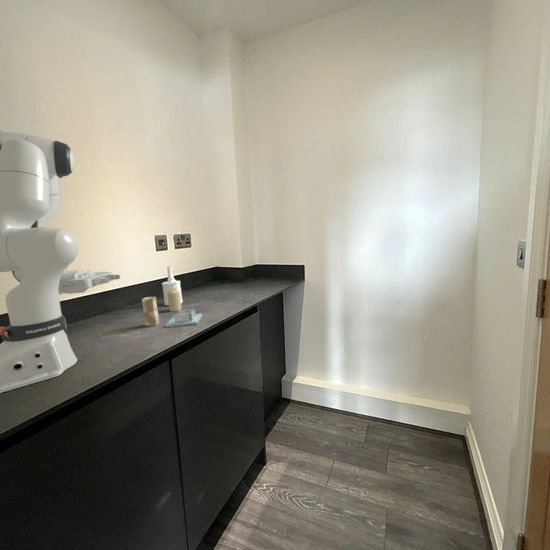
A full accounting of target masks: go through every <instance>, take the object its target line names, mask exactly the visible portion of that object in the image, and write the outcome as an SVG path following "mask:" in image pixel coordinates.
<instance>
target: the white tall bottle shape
mask: <svg viewBox="0 0 550 550" xmlns="http://www.w3.org/2000/svg"><path fill="white" fill-rule="evenodd" d="M174 275H175V274H173V268H172V267H171V265H167V276H168V277H167V281H164V282H162V283H161V286H162V290H163V299H164V306H166V305H169V302H168V295H167V293H168V292H169V290H172V289H177V290H178V291H179V292H180V299H181V304H183V303H184V301H183V296H182V295H183V294H182V288H181V280H177V279H175V278H174ZM182 302H183V303H182Z"/></svg>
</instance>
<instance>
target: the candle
mask: <svg viewBox="0 0 550 550" xmlns="http://www.w3.org/2000/svg"><path fill="white" fill-rule="evenodd" d="M167 295H168V302H169V306H168V307H169V309H168V310H169V311H170V312H178V311H179V310H183V309H182V303H181V299H180V292H179V291H178V290H177V289H172V290H169V292H168V293H167Z"/></svg>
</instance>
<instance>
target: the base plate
mask: <svg viewBox="0 0 550 550" xmlns="http://www.w3.org/2000/svg"><path fill="white" fill-rule="evenodd" d="M195 314H196V316H195V317H194V319H193V320H192V321H186V322H176V323H175V319H174V315H173V316H172V318H171V317H170V319H169V320H168V321H167V323H166V324H165V326H164V327H165V328H177V327H184V326H186V325H187V326H195V325H196V324H197V325H198V323H199V322H200V320H201V319H202V317H203V314H202V313H195ZM197 325H196V326H197Z"/></svg>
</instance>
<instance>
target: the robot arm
mask: <svg viewBox="0 0 550 550" xmlns="http://www.w3.org/2000/svg"><path fill="white" fill-rule="evenodd" d="M75 165H76V160H75V156H74V153H73V151H72V149H71V147H70V146H69V144H67V143H65V142H62V141H59V140H51V139H47V138H45V137H44V138H43V137H38V136H34V135H29V134H27V133H19V132H10V131H9V132H6V131H1V130H0V273H7V272H8V273H9V272H11V273H12V276H13V277H14V279H15V280H16V281H18V283H19V284H18V285H17V286H15V287H14V288H12V289H10V290H9V291H8V293H6V295H5V305H6V308H7V309H6V310H7V314H8V319H9V323H10V324H9V325H7V326H0V335H1V337H2V340H3V341H2V342H1V343H0V394H2V393H4V392H9V391H12V390H15V389H18V388H22V387H26V386H29V385H32V384H36V383H40V382H44V381H46V380H49V379H53V378H57V377H59V376H60V375H62V374H63V373H64V371H66V370H68V369H69V368H71V367H72V366H74V365H75V364H76V363H77V361H78V358H77V356H76V355H75V352H74V351H73V348H72V347H71V345H70V341H69V339H68V328H67V322H66V318H65V315H63V314H62V309H61V307H62V306H61V302H60V295H62V294H68V295H69V294H70V295H72V294H81V293H82V294H83V293H85V292H86V291H87V290H89V289H91V288H94V287H97V286H100V285H103V284H108V283H110V282H112V281H114V280H120V279H121V275H120V274H113V272H112V271H93V270H82V269H77V270H68V267H69V265H71V264H72V263H73V262H74V261H75V259H76V258H77V256H78V253H79V245H78V241H77V239H76V237H75V236H74V235H73V233H71V232H70V231H69V230H67V229H64V228H58V227H51V226H50V227H49V226H46V225H47V223H49V222H50V221H51V219H53V218H54V217H55V216H56V215H57V214H58V213H59V210H60V207H61V194H60V186H59V181H58V178H59V179H62V178H64V177H68V176H70V175H71V174H72V173H73V171H74V168H75Z"/></svg>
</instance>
